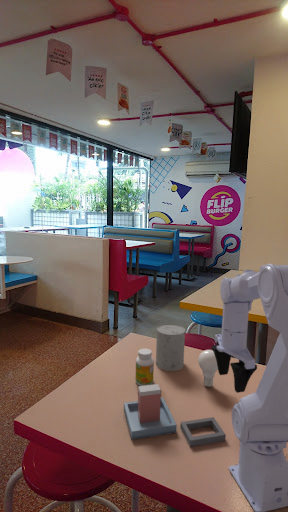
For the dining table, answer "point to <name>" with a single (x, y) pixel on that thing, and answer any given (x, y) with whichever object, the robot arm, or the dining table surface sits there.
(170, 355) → the speckled stone cylinder
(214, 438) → the grey rectangular frame
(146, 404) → the red and grey block
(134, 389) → the dining table surface
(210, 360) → the lightbulb
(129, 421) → the parts tray
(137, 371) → the supplement bottle
